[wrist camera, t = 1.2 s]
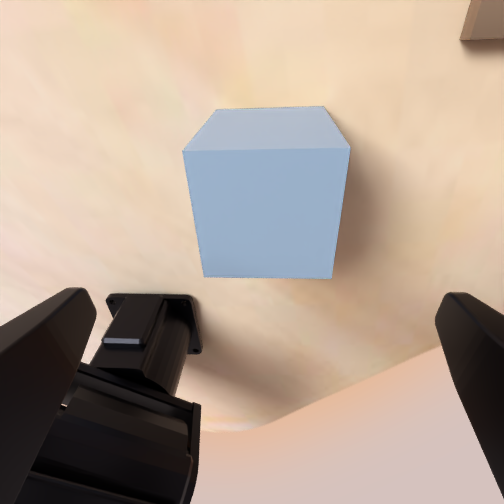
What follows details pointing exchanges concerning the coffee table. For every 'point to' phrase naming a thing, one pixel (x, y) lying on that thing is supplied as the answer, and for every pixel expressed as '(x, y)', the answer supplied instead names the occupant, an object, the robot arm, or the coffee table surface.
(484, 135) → the coffee table surface
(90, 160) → the coffee table surface
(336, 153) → the pale blue foam brick
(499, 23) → the brown square stand
